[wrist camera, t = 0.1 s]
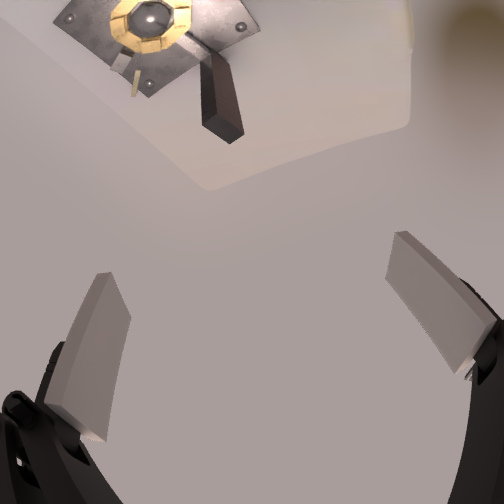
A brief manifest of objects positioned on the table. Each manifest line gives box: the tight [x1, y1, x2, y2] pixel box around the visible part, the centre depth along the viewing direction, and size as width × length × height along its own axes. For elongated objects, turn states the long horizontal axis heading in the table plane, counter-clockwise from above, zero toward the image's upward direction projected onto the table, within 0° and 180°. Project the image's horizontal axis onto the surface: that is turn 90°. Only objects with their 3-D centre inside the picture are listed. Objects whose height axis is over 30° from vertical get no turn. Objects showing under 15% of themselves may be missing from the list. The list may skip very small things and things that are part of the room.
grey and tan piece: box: [110, 0, 244, 144], centre depth 22 cm, size 19×10×17 cm, turn 38°
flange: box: [53, 0, 260, 98], centre depth 22 cm, size 22×22×4 cm
